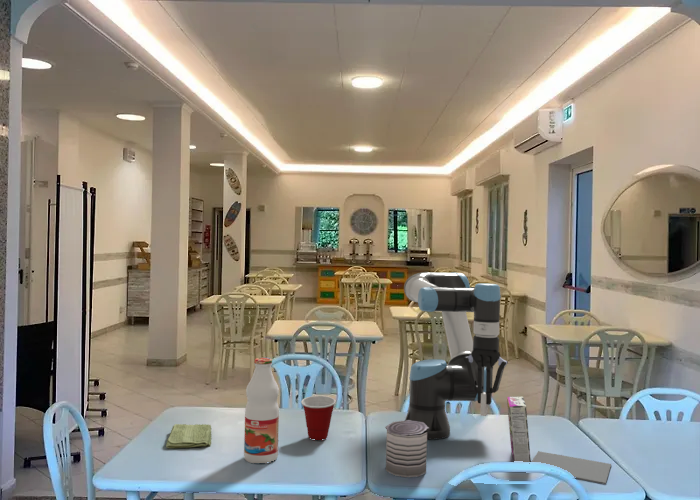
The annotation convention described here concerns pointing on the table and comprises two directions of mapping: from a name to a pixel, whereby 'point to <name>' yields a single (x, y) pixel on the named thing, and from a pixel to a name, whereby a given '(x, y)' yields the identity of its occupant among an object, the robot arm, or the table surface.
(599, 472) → the mat
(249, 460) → the fruit juice
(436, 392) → the robot arm
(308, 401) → the plastic cup
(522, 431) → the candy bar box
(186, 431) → the washcloth
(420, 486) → the table surface
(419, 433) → the can
